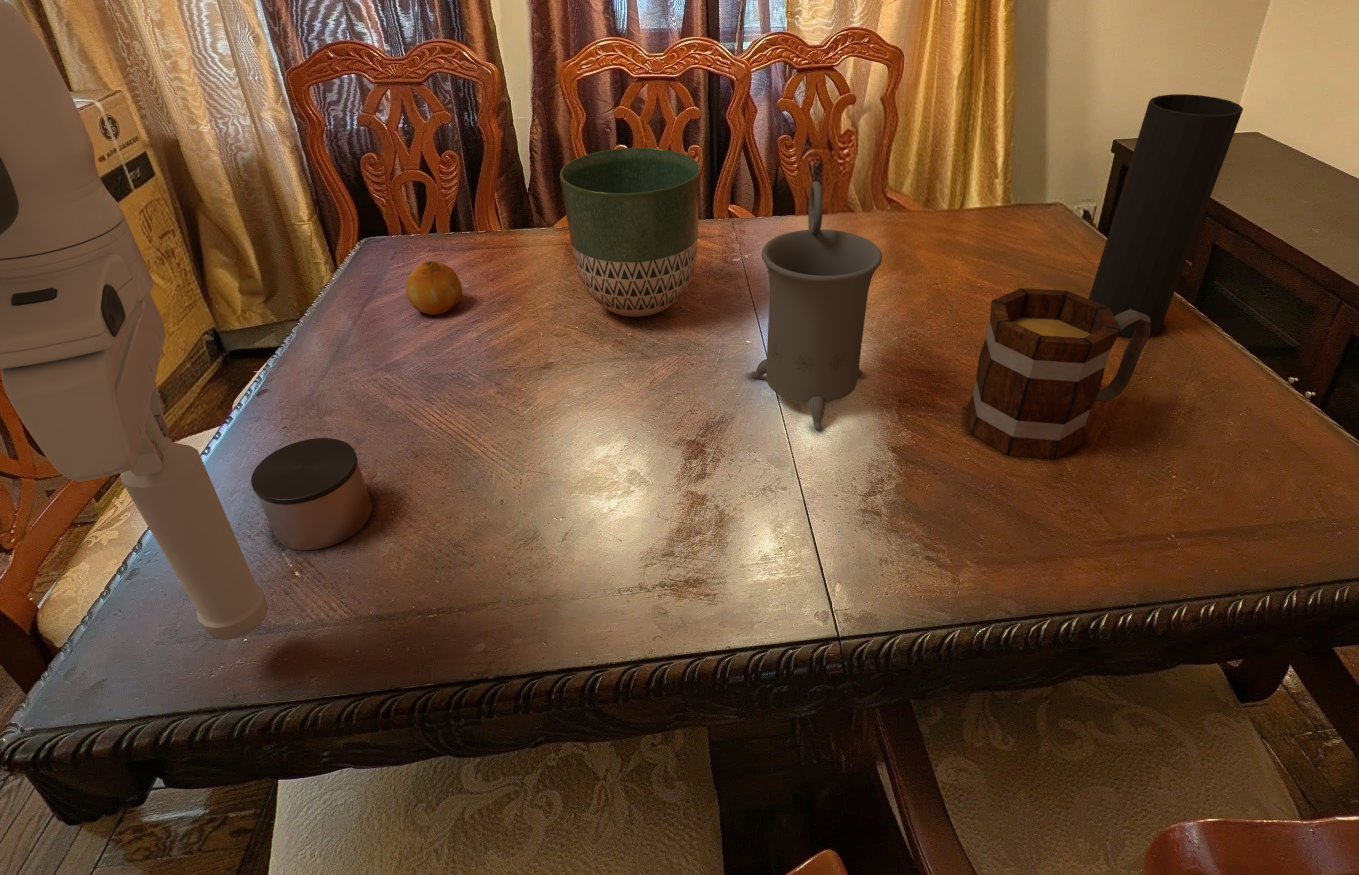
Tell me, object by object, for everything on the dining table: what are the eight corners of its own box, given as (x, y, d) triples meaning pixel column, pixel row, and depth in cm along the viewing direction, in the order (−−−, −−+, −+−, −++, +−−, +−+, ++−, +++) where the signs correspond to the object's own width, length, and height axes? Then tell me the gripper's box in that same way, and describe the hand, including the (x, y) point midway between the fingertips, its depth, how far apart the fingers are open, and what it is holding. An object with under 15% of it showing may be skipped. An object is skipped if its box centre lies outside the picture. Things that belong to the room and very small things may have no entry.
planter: (721, 323, 119) (722, 180, 107) (596, 350, 114) (581, 202, 101) (674, 271, 134) (670, 140, 121) (561, 293, 129) (545, 158, 116)
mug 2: (879, 431, 97) (909, 233, 82) (756, 432, 97) (764, 236, 82) (854, 351, 112) (876, 172, 97) (748, 353, 112) (754, 175, 97)
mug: (1000, 468, 90) (1032, 353, 81) (944, 403, 101) (966, 295, 92) (1154, 442, 93) (1201, 329, 84) (1084, 382, 104) (1119, 275, 95)
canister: (308, 565, 81) (286, 513, 77) (254, 525, 86) (231, 474, 82) (392, 510, 87) (376, 459, 83) (337, 475, 92) (320, 426, 88)
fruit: (452, 310, 120) (446, 256, 119) (400, 315, 120) (393, 261, 119) (470, 313, 128) (465, 263, 127) (421, 318, 128) (415, 267, 128)
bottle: (255, 641, 66) (127, 384, 51) (192, 642, 66) (47, 386, 51) (280, 594, 70) (168, 345, 56) (221, 596, 70) (93, 346, 56)
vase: (1097, 337, 113) (1168, 116, 95) (1074, 304, 121) (1136, 94, 103) (1173, 338, 112) (1259, 115, 94) (1145, 304, 120) (1220, 93, 103)
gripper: (40, 227, 57) (123, 392, 65) (-45, 361, 41) (78, 555, 49) (141, 213, 59) (209, 375, 67) (95, 336, 43) (191, 527, 51)
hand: (153, 453), depth 58 cm, fingers closed on bottle, 3 cm apart
